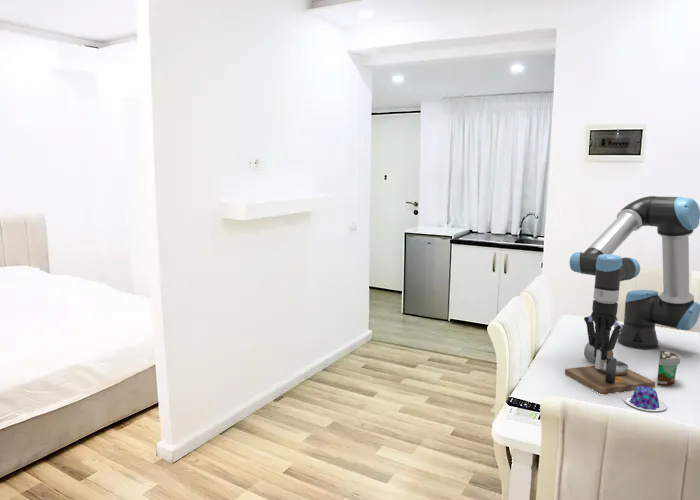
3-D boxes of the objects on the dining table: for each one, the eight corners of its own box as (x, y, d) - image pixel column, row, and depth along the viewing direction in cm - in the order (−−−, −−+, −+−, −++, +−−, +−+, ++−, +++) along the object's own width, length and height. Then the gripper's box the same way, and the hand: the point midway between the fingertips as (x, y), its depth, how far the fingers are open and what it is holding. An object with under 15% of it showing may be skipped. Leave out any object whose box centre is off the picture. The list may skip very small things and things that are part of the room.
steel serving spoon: (597, 362, 191) (599, 341, 190) (628, 367, 186) (630, 346, 185) (593, 380, 175) (595, 357, 174) (626, 386, 170) (628, 363, 169)
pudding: (623, 408, 160) (625, 392, 160) (622, 393, 171) (624, 378, 170) (668, 416, 155) (670, 400, 154) (664, 400, 166) (666, 385, 165)
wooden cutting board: (614, 368, 192) (615, 362, 192) (654, 387, 175) (655, 381, 175) (564, 374, 187) (565, 368, 186) (601, 394, 169) (601, 388, 169)
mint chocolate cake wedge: (678, 390, 173) (680, 362, 171) (656, 386, 176) (659, 358, 174) (677, 378, 183) (680, 351, 182) (657, 374, 186) (660, 348, 185)
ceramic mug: (601, 367, 193) (603, 347, 192) (582, 360, 200) (584, 341, 199) (619, 362, 198) (620, 343, 197) (599, 356, 205) (601, 337, 204)
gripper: (581, 298, 175) (575, 364, 179) (618, 306, 164) (611, 376, 168) (593, 295, 179) (588, 359, 183) (630, 303, 168) (624, 371, 172)
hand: (599, 367), depth 175 cm, fingers closed
